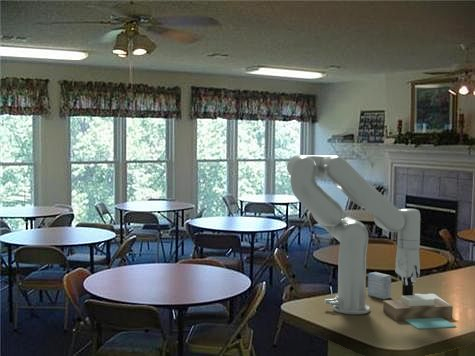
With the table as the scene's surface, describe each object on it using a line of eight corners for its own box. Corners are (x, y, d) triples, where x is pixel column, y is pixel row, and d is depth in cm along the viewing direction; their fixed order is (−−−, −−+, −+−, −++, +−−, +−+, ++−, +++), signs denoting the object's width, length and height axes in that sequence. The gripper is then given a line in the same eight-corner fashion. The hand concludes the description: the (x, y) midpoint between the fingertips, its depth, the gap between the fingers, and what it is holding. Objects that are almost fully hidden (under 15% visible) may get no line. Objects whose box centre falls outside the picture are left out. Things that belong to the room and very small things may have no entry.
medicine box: (391, 298, 214) (391, 275, 214) (383, 299, 212) (383, 276, 211) (375, 293, 221) (375, 271, 220) (367, 295, 218) (367, 273, 218)
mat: (417, 329, 177) (417, 327, 177) (404, 320, 186) (404, 319, 186) (456, 327, 179) (456, 325, 179) (441, 318, 188) (441, 317, 188)
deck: (395, 320, 186) (395, 308, 185) (383, 312, 196) (383, 300, 195) (452, 318, 189) (452, 306, 189) (437, 309, 199) (437, 298, 198)
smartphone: (452, 309, 201) (434, 297, 217) (452, 305, 201) (434, 293, 217) (428, 310, 201) (411, 297, 217) (428, 305, 201) (411, 293, 216)
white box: (408, 306, 188) (409, 300, 188) (401, 301, 194) (401, 295, 194) (434, 305, 190) (434, 299, 190) (425, 300, 196) (425, 294, 196)
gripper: (389, 240, 205) (388, 291, 206) (408, 247, 190) (407, 301, 191) (408, 240, 206) (407, 290, 207) (429, 247, 192) (428, 300, 193)
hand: (407, 295), depth 199 cm, fingers closed
